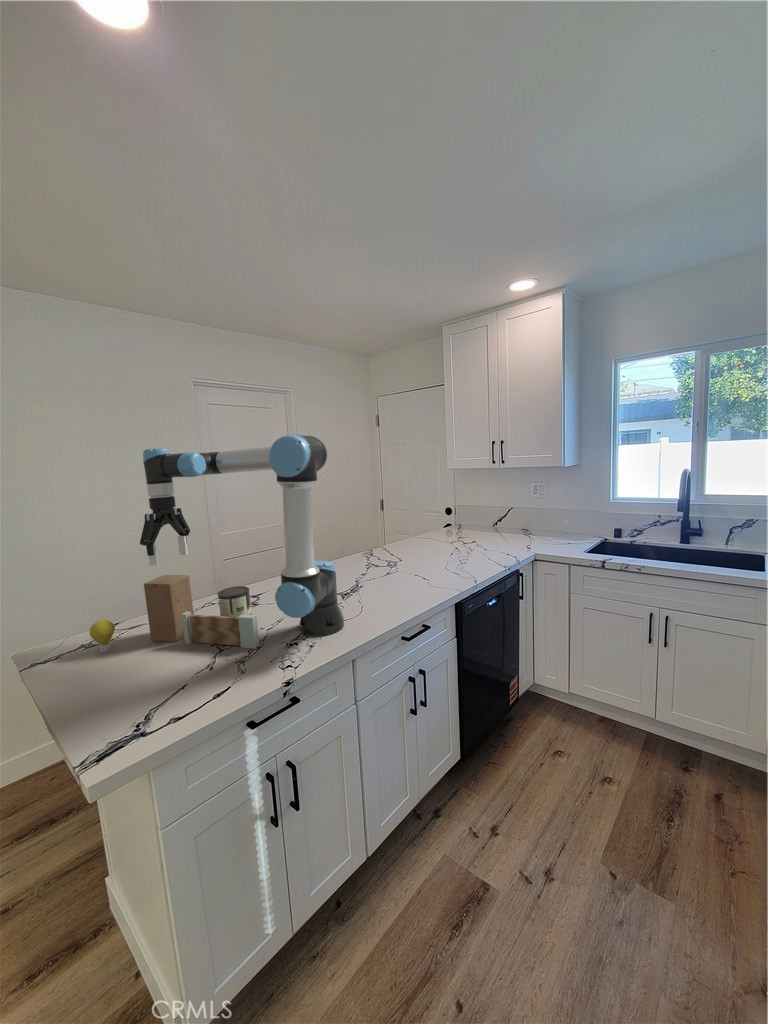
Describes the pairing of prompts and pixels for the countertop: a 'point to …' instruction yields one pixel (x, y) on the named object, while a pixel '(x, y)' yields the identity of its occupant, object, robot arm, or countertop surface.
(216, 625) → the gate
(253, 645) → the grey piece
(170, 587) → the wooden block
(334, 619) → the robot arm
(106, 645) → the light bulb
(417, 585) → the countertop surface
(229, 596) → the coffee can
